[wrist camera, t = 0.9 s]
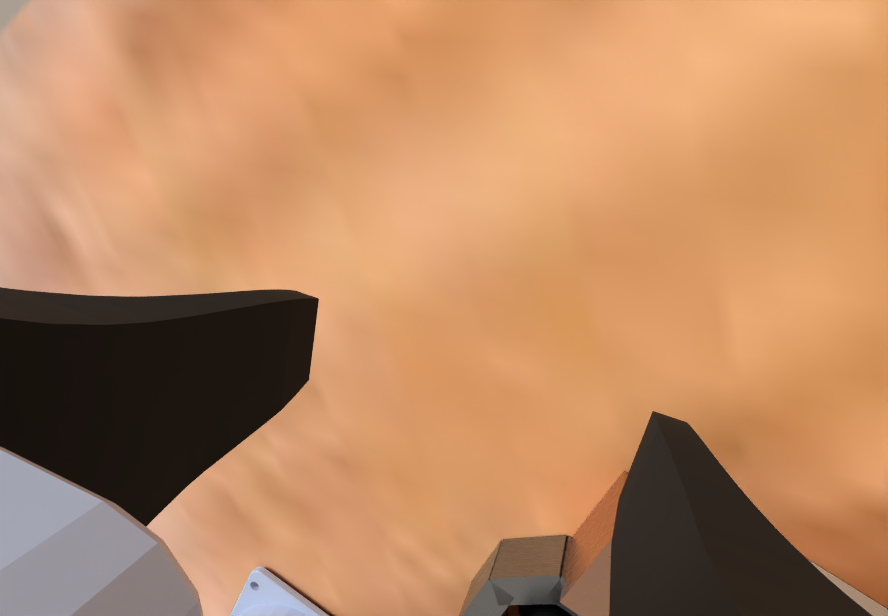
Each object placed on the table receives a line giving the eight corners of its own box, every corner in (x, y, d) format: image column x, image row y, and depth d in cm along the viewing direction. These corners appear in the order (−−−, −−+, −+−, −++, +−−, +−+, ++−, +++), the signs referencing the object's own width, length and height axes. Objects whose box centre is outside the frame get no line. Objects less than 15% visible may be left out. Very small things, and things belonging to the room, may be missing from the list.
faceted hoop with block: (582, 703, 24) (575, 783, 21) (451, 610, 25) (425, 673, 22) (735, 541, 20) (754, 609, 17) (573, 439, 21) (564, 486, 18)
